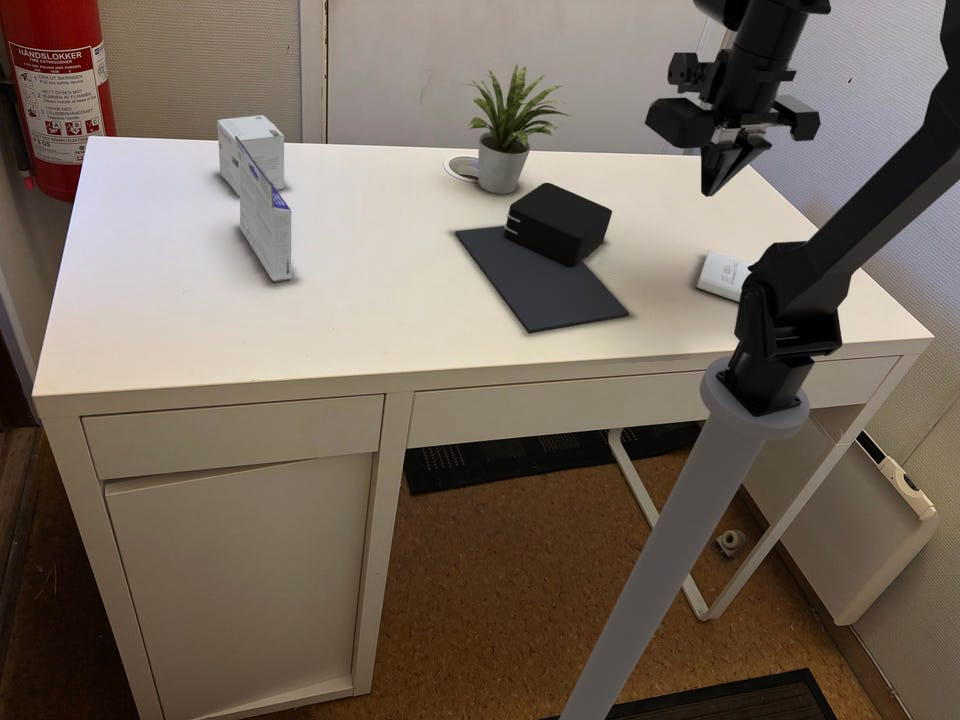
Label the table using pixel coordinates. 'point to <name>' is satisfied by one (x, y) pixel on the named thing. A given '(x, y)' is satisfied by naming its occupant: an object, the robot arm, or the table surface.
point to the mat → (540, 283)
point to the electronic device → (557, 223)
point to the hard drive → (723, 275)
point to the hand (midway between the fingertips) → (706, 194)
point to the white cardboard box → (251, 148)
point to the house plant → (508, 131)
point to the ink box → (264, 217)
